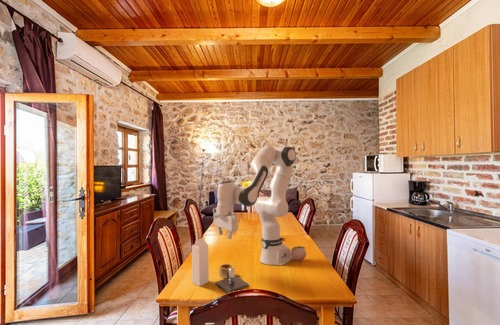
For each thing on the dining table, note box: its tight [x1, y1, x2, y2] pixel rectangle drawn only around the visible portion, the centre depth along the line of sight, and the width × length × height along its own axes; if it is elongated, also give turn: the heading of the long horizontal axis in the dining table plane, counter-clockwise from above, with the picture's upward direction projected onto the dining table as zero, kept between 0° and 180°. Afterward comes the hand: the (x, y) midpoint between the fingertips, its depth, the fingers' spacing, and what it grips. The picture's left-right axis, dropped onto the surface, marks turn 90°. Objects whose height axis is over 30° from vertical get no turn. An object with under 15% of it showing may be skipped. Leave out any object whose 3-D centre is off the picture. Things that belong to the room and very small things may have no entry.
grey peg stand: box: [214, 267, 250, 294], centre depth 125 cm, size 12×12×8 cm
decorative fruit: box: [290, 245, 307, 263], centre depth 154 cm, size 9×8×10 cm
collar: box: [219, 263, 233, 279], centre depth 136 cm, size 6×6×5 cm
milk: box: [191, 237, 210, 287], centre depth 128 cm, size 6×6×22 cm
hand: (224, 236), depth 136 cm, fingers open, 8 cm apart
